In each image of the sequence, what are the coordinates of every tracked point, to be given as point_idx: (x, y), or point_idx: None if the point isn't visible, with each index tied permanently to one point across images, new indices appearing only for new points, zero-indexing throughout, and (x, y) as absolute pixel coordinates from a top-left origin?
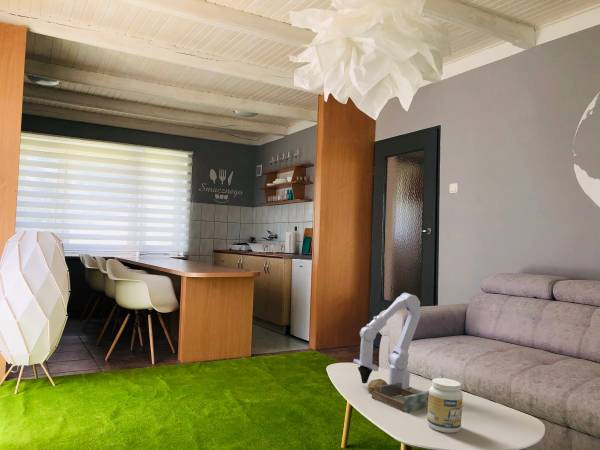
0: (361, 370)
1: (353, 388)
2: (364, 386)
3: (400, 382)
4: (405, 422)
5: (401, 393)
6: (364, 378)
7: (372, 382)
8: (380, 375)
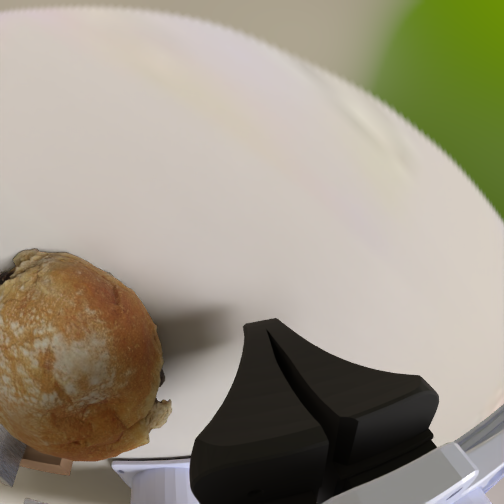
0: (325, 406)
1: (254, 175)
2: None
3: (4, 481)
4: None
5: None
6: (242, 358)
7: (20, 336)
8: None
